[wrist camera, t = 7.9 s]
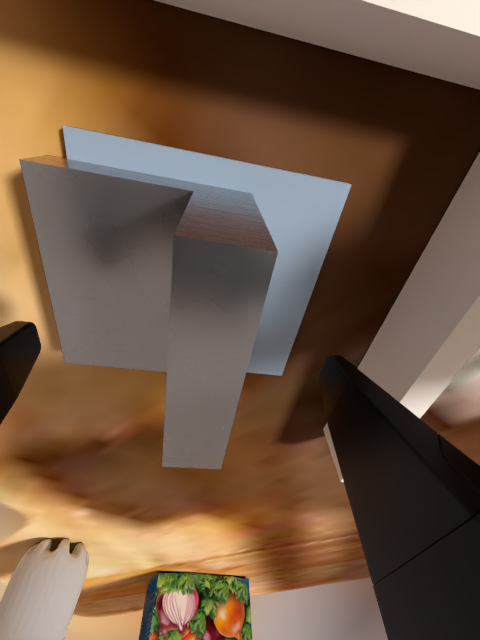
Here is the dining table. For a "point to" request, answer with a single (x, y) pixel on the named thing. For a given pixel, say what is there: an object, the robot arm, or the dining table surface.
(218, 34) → the dining table surface
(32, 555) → the bottle
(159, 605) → the blue food package
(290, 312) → the mat
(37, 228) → the bracket
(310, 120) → the dining table surface
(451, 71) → the l-shaped block
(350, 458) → the robot arm
